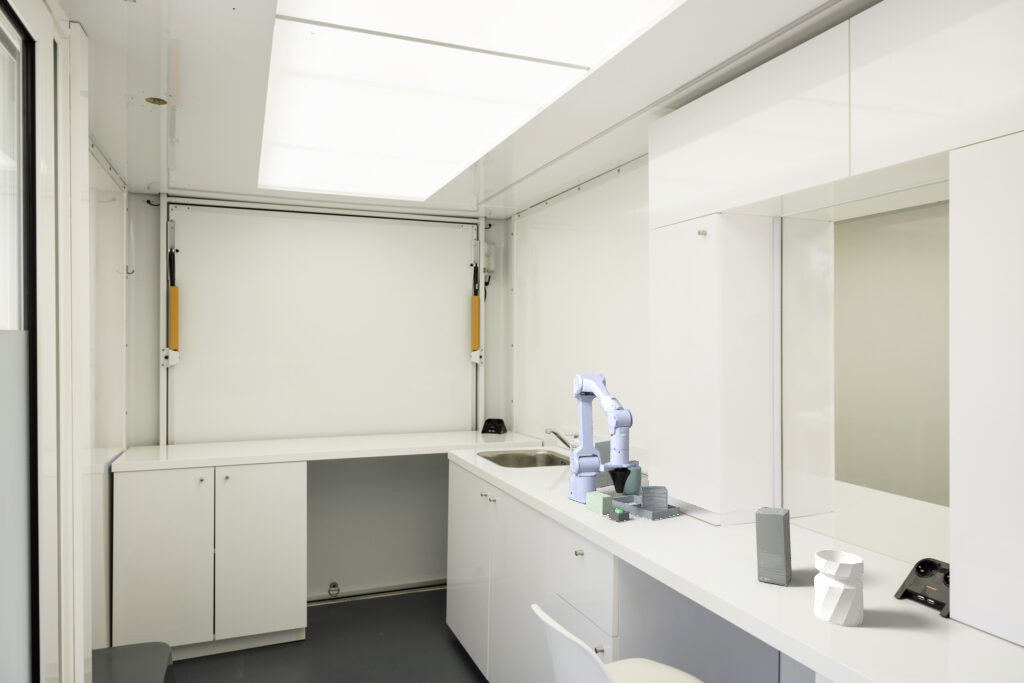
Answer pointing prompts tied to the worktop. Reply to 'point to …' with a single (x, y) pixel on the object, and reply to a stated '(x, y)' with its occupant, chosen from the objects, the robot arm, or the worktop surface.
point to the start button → (619, 510)
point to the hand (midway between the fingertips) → (619, 492)
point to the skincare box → (773, 545)
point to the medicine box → (654, 498)
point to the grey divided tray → (636, 509)
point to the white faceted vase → (838, 588)
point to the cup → (633, 482)
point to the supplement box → (604, 450)
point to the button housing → (619, 515)
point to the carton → (598, 502)
